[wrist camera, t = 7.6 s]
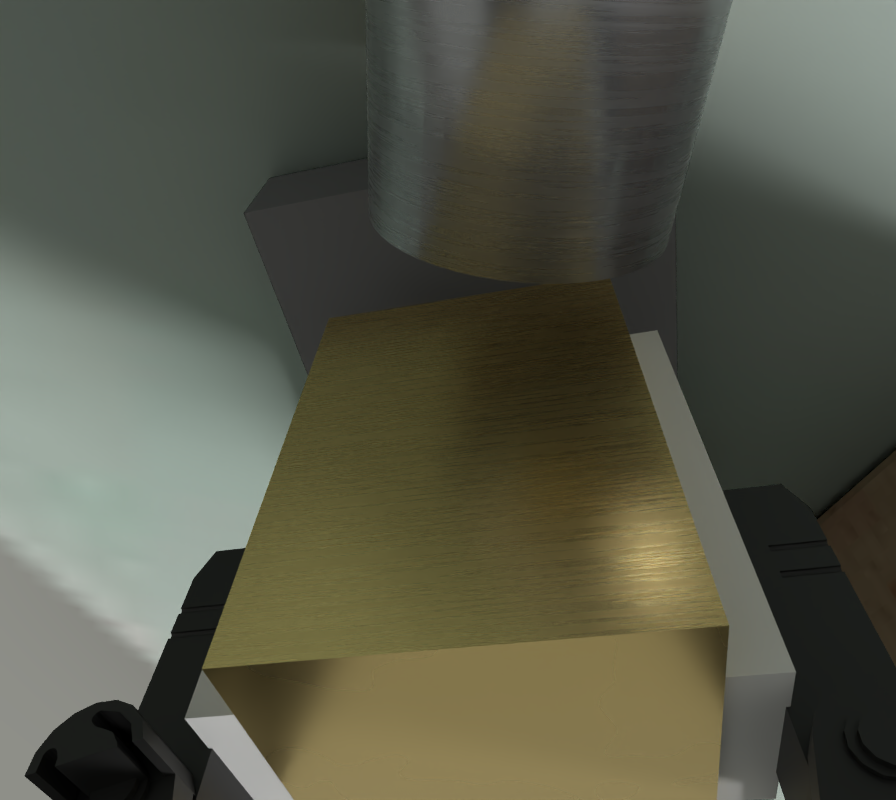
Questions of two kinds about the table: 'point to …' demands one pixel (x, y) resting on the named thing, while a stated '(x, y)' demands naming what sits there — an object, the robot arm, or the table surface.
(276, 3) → the table surface
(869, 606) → the wooden block
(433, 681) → the tan rectangular block
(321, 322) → the dark grey block
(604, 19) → the shaft
